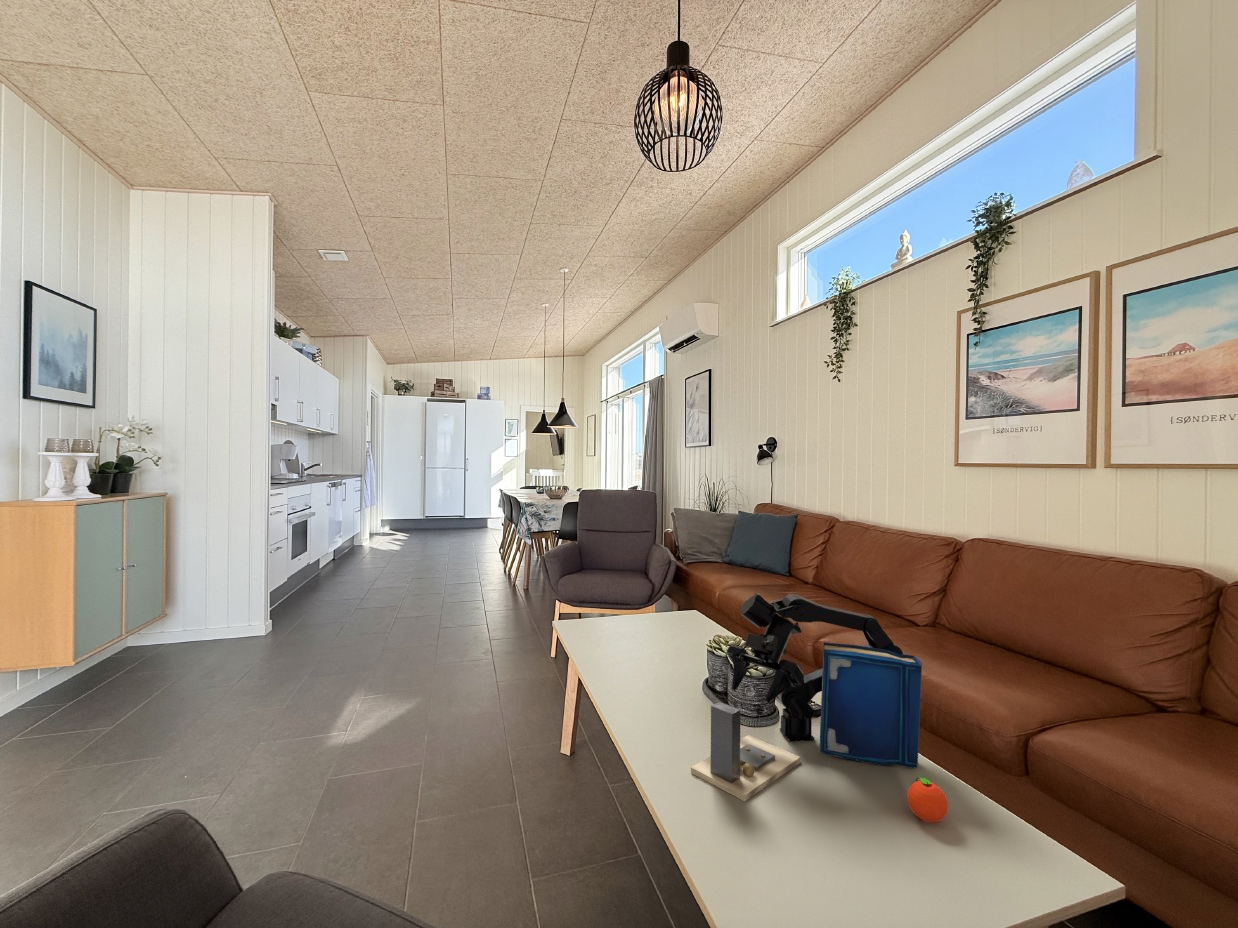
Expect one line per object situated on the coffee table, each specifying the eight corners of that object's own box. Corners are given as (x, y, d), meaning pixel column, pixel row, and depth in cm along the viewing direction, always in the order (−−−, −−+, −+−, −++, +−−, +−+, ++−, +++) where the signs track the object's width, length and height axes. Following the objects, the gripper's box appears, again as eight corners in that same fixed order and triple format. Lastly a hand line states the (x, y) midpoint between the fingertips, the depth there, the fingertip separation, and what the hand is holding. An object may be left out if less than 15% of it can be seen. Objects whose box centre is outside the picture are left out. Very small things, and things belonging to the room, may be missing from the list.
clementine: (897, 804, 112) (898, 768, 112) (933, 804, 112) (933, 769, 112) (918, 830, 104) (918, 791, 104) (955, 831, 104) (956, 792, 104)
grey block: (728, 761, 125) (728, 697, 125) (749, 771, 121) (749, 705, 121) (710, 772, 121) (711, 705, 121) (731, 783, 117) (732, 714, 117)
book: (918, 758, 130) (919, 650, 130) (924, 773, 123) (925, 660, 123) (819, 742, 137) (820, 640, 137) (819, 756, 130) (820, 649, 130)
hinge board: (748, 739, 138) (748, 725, 138) (800, 762, 128) (800, 747, 128) (690, 772, 123) (690, 757, 123) (744, 801, 112) (744, 784, 113)
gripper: (730, 612, 142) (703, 666, 134) (798, 628, 128) (771, 689, 121) (748, 637, 147) (722, 690, 140) (814, 655, 134) (790, 715, 126)
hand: (749, 695), depth 131 cm, fingers open, 9 cm apart
